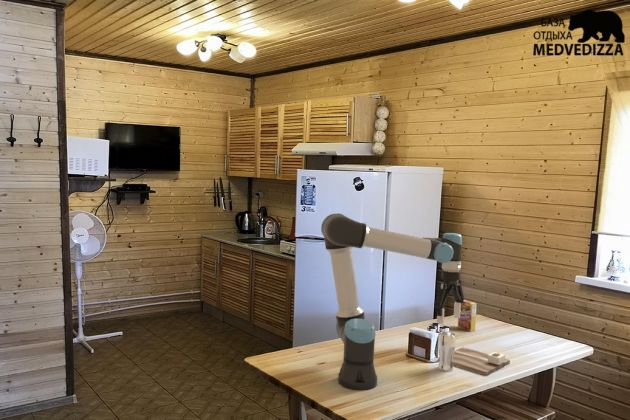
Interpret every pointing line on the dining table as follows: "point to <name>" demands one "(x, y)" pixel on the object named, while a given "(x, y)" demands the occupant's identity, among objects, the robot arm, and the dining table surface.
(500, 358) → the cream block with hole
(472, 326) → the candy box
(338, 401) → the dining table surface
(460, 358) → the board
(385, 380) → the dining table surface
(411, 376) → the dining table surface
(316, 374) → the dining table surface
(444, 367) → the clear glass bottle
